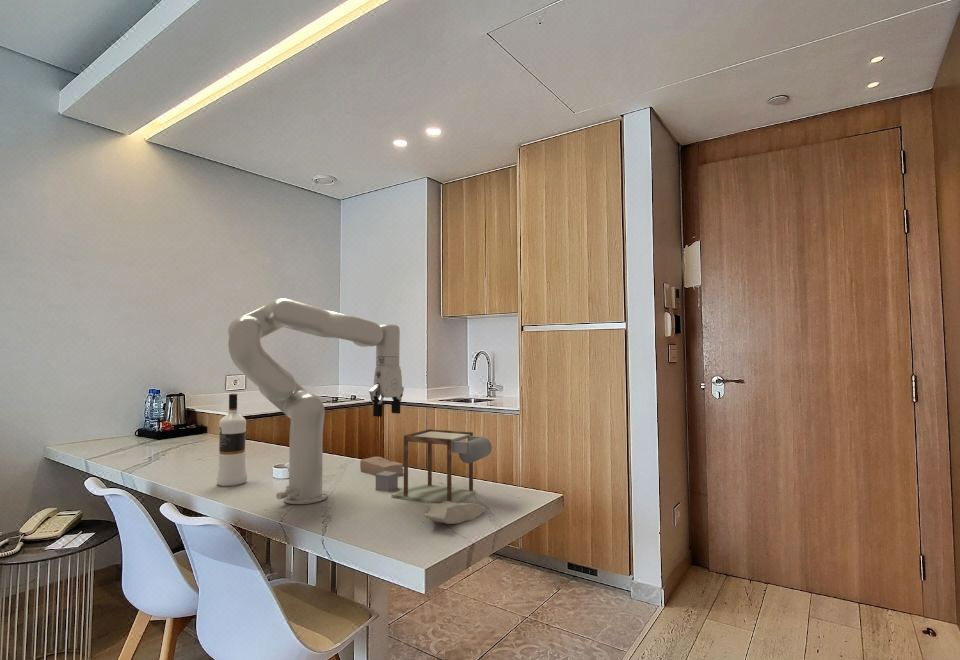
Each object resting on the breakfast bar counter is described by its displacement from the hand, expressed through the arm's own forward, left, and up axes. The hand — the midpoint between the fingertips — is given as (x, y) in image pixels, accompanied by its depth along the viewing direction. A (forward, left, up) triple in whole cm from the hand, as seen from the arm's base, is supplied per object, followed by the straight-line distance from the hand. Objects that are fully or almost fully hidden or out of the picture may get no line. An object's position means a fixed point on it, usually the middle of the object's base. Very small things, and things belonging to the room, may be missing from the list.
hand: (387, 414), depth 172 cm
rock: (-19, -33, -24) cm, 45 cm away
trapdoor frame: (-1, -19, -23) cm, 30 cm away
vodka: (-18, +50, -24) cm, 58 cm away
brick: (+16, +14, -24) cm, 32 cm away
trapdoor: (-1, -25, -11) cm, 27 cm away
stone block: (-1, -1, -24) cm, 24 cm away
